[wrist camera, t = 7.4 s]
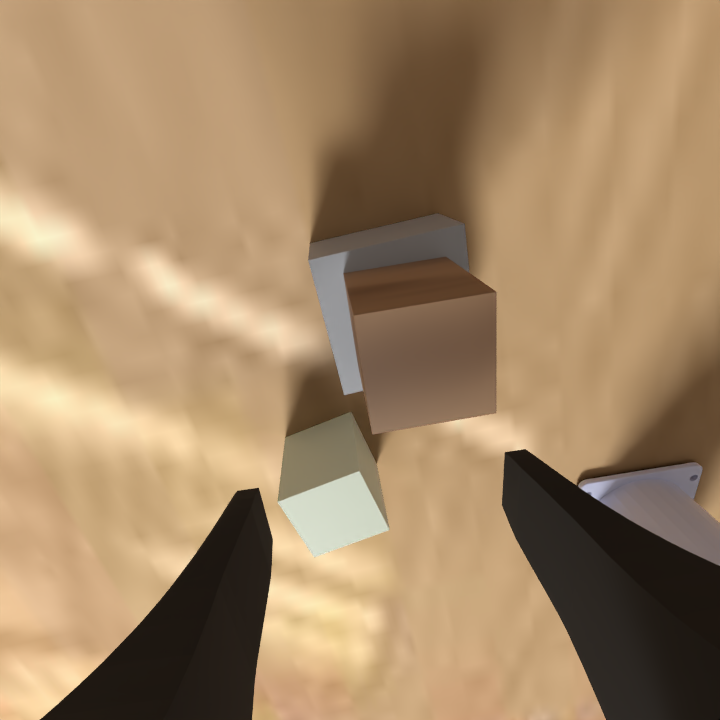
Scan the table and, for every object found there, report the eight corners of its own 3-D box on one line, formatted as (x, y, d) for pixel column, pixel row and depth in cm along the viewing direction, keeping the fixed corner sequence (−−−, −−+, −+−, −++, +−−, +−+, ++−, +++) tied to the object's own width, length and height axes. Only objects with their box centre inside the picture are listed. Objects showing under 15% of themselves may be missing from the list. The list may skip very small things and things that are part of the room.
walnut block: (450, 350, 18) (496, 413, 13) (358, 365, 18) (372, 434, 13) (445, 256, 16) (496, 291, 12) (343, 273, 16) (353, 315, 11)
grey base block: (451, 331, 22) (478, 363, 18) (339, 357, 22) (344, 395, 18) (436, 212, 19) (464, 223, 16) (310, 242, 19) (308, 260, 16)
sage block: (376, 463, 25) (389, 529, 20) (314, 486, 25) (314, 557, 21) (351, 411, 23) (359, 470, 19) (285, 436, 23) (277, 502, 19)
